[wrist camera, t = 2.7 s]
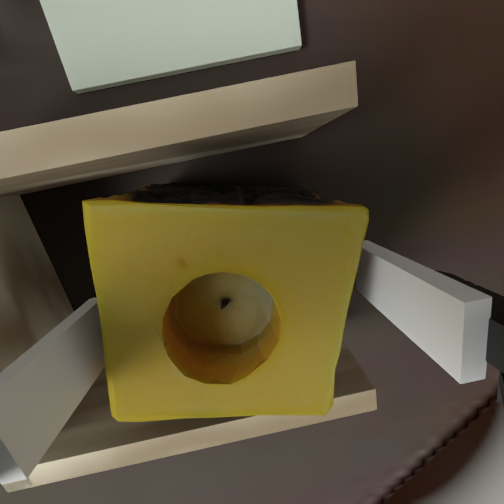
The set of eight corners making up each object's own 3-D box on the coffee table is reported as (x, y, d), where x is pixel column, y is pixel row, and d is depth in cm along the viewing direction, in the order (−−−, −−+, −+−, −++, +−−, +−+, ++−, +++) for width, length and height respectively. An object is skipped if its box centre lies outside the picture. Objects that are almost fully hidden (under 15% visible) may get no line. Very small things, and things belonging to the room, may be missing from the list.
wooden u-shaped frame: (-15, 176, 16) (-226, 177, 9) (299, 112, 17) (355, 60, 9) (87, 380, 22) (7, 492, 14) (326, 328, 22) (376, 409, 14)
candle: (303, 186, 18) (380, 198, 9) (290, 310, 21) (338, 419, 12) (159, 180, 17) (72, 185, 8) (166, 310, 20) (109, 428, 11)
